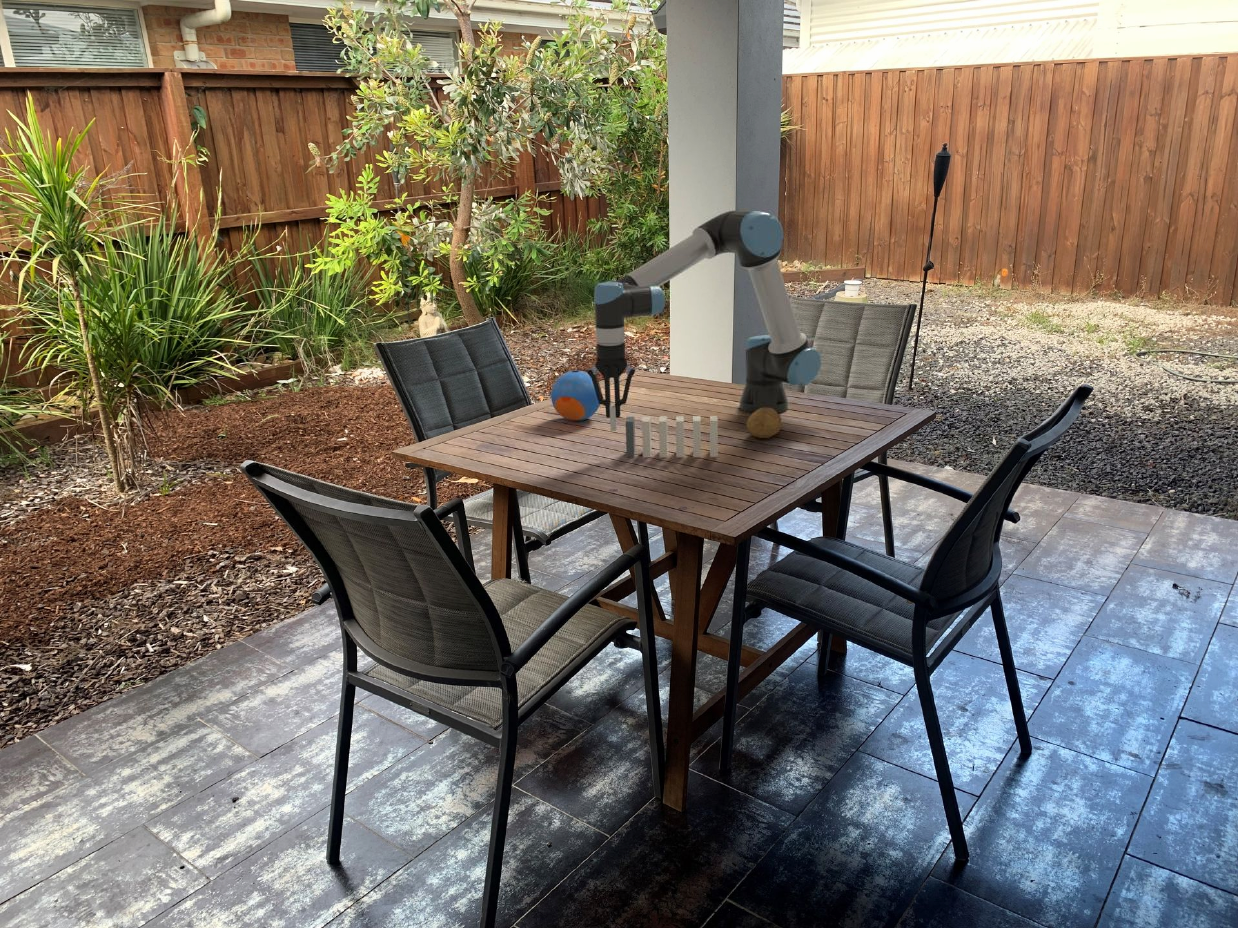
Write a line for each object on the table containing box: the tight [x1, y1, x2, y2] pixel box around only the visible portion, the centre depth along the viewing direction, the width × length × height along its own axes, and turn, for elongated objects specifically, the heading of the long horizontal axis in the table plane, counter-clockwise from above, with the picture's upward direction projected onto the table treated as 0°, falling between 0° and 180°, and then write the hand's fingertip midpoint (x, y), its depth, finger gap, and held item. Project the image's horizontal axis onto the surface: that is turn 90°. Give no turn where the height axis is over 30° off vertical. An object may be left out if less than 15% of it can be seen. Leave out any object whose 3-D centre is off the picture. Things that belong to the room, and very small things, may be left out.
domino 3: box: [658, 415, 669, 458], centre depth 245 cm, size 2×5×10 cm, turn 175°
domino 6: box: [709, 415, 719, 458], centre depth 244 cm, size 2×5×10 cm, turn 175°
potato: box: [745, 408, 782, 439], centre depth 258 cm, size 10×14×8 cm
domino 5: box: [692, 415, 702, 458], centre depth 244 cm, size 2×5×10 cm, turn 175°
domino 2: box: [641, 416, 652, 458], centre depth 246 cm, size 2×5×10 cm, turn 175°
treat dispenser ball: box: [550, 370, 601, 422], centre depth 280 cm, size 16×15×15 cm
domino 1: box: [625, 416, 636, 458], centre depth 246 cm, size 2×5×10 cm, turn 175°
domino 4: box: [675, 415, 685, 458], centre depth 245 cm, size 2×5×10 cm, turn 175°
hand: (613, 429), depth 246 cm, fingers closed
